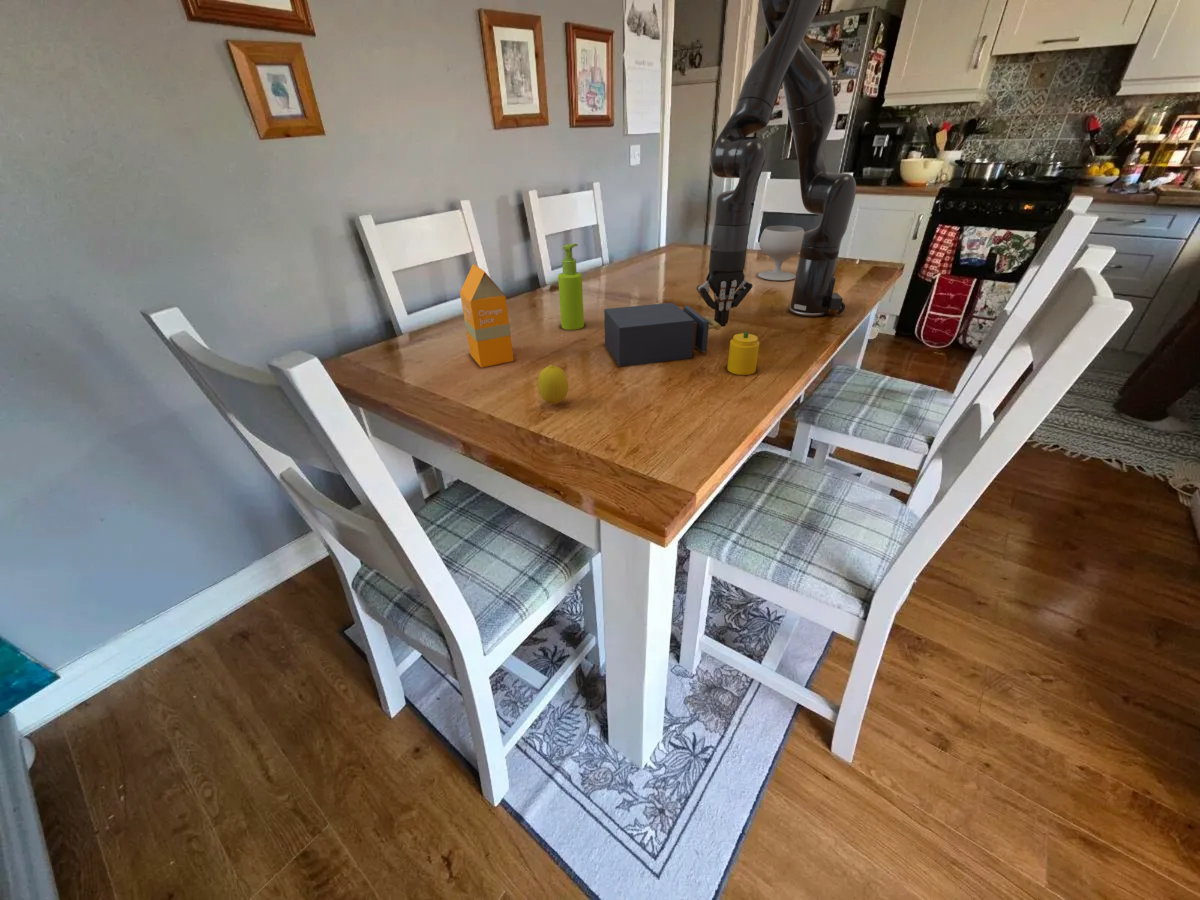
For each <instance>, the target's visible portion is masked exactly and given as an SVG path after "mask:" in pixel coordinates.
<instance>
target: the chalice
mask: <svg viewBox="0 0 1200 900" xmlns="http://www.w3.org/2000/svg"><path fill="white" fill-rule="evenodd" d="M804 233H805V230H804V228H803V227H801V226H797V225H769V226H766V227H765V228H764V230H763V231H762V233H761V235H760V238H759V244H758V245H759V249H760V250H761V252H763V253H764V254H765V255H767V256H768V257H769V258H771V259H772V260H773V261H774V263H775V265H774V266H775V267H774V268H773V270H765V271H761V272H759V273H758V274H757V276H758V277H759V278H760V279H764V280H769V281H790V280H795V278H796V273H793V272H790V271H785V270H782V266H783V263H784V262H785V261H787V260H788V259H790V258H791V257H794V256H796V255H798V254H800V249H801V244H802V238H803V234H804Z"/></svg>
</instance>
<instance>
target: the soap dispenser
mask: <svg viewBox="0 0 1200 900" xmlns="http://www.w3.org/2000/svg"><path fill="white" fill-rule="evenodd" d="M575 247H578V243H566V244H563V246H562V250H564V256H565V257H564V258H563V259H562V260H561V263H562V265H561V266H562V272H561V273H559V274H557V282H558V295H559V308H560V309H559V311H560V324H561V325H560V327H561V328H562V329H563V330H569V331H576V330H580V329H583V328H584V326H585V320H584V319H585V317H584V295H583V274H582V272H577V259H576V258H574V257H573V248H575Z"/></svg>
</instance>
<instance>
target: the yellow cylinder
mask: <svg viewBox="0 0 1200 900" xmlns="http://www.w3.org/2000/svg"><path fill="white" fill-rule="evenodd" d="M760 344H761V343H760V341H759V338H758V336H757V335H755V334H752V333H749V332H748V331H744V332H743V333H737V334H735V335H733V338H731V340H730V342H729V349H728V350H729V351H728V357H727V366H726V368H727V371H728V372H730V373H731V374H734V375H738V376H748V375H752V374H753V375H754V374H755V373H756V370H757V366H758V365H757V364H758V356H759V350H760Z"/></svg>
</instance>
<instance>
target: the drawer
mask: <svg viewBox="0 0 1200 900" xmlns="http://www.w3.org/2000/svg"><path fill="white" fill-rule="evenodd" d="M682 310H683V311H684V312H685V313H686V314H688V315H689V316H690V317H691V318H693V319H694V320H695V323H694V336H693V349H692V352H693V351H695V350H696V349H698V350H699V351H700V352H701V353H705V352H707V351H708V340H709V330H713V329H714V330H715V331H719V330H721V328H722V327H721V325H720V324H719V323H717V322H716V321H715V320H714V318H712V317H711V316H709V315H705V316H704V317H703V316H702V315H701V314H699V312H697V311H696V310H695V309H694V308H692V307H691V306H689V305H683V307H682Z"/></svg>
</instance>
